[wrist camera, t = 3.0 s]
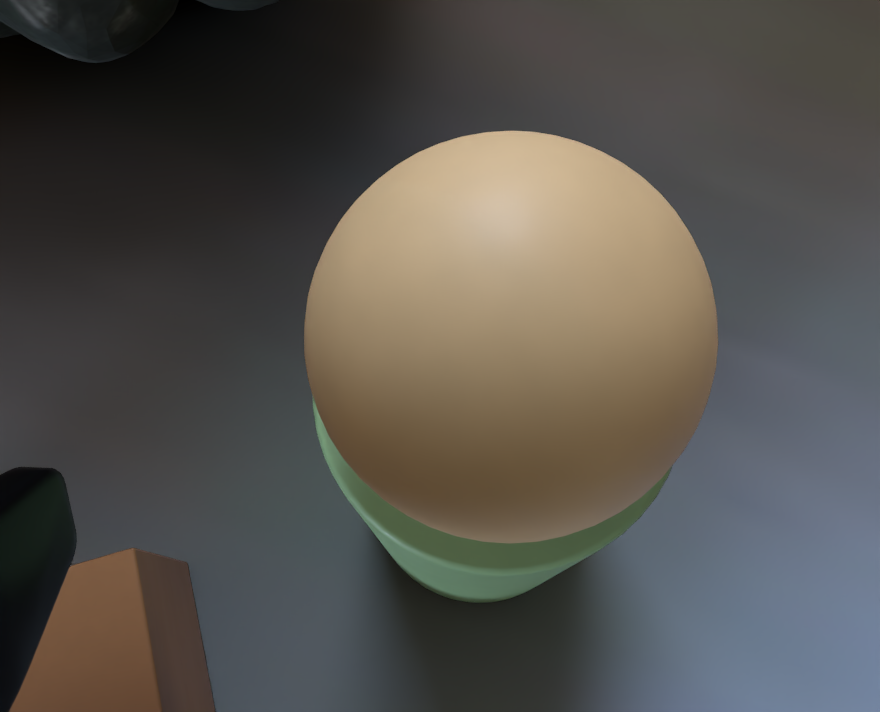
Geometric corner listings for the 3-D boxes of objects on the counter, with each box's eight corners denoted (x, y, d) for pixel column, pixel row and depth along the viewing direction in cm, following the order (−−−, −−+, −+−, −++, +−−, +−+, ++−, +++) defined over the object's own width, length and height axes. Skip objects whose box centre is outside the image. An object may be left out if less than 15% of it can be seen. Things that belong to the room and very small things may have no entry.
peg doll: (619, 551, 17) (930, 397, 6) (420, 638, 16) (356, 646, 5) (530, 363, 18) (648, -48, 7) (343, 438, 18) (167, 119, 7)
